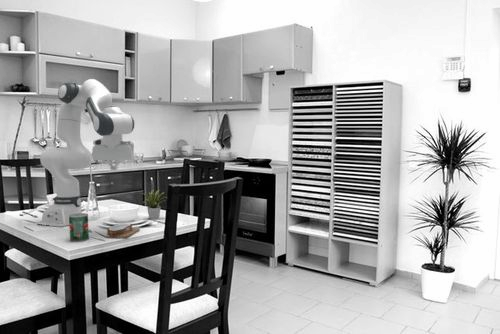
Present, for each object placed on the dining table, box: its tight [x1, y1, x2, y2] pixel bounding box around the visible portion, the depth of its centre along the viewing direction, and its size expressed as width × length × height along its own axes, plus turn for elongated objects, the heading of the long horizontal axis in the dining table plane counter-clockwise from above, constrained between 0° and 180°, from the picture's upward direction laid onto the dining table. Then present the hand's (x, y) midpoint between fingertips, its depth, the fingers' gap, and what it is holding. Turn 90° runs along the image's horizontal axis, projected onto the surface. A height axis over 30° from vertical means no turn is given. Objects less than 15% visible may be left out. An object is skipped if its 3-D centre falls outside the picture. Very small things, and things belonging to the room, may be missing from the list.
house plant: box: [141, 188, 168, 220], centre depth 235 cm, size 14×14×16 cm
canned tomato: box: [68, 213, 90, 243], centre depth 193 cm, size 8×8×11 cm
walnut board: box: [107, 227, 141, 240], centre depth 203 cm, size 9×15×1 cm, turn 172°
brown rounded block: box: [106, 222, 133, 236], centre depth 203 cm, size 15×3×8 cm
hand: (113, 169), depth 210 cm, fingers closed
